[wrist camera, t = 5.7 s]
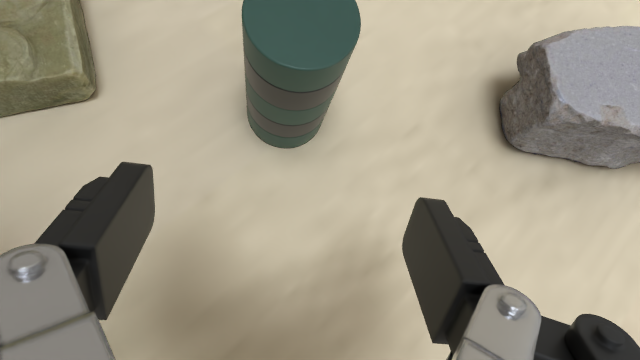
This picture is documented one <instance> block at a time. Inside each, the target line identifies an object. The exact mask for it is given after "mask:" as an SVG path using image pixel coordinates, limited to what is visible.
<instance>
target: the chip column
mask: <svg viewBox="0 0 640 360" xmlns="http://www.w3.org/2000/svg"><path fill="white" fill-rule="evenodd" d="M360 28H361V20H360V13H359V9H358V6H357V3H356V1H355V0H244V1H243V6H242V29H243V46H244V64H245V82H246V100H247V115H248V120H249V123H250V126H251V128H252V129H253V131H254V132H255V134H256V135H257V136H258V137H259V138H260V139H262V140H263V141H264V142H266V143H268V144H270V145H272V146H275V147H280V148H293V147H298V146H300V145H303V144H305V143H307V142H308V141H309V140H311V139H312V138H313V137H314V136H315V134H316V133H317V131H318V130H319V128H320V125H321V123H322V121H323V118H324V116H325V114H326V112H327V109H328V107H329V105H330V102H331V100H332V98H333V96H334V93H335V91H336V89H337V86H338V84H339V82H340V80H341V77H342V75H343V73H344V70H345V68H346V66H347V64H348V61H349V59H350V57H351V54H352V52H353V50H354V48H355V45H356V43H357V40H358V38H359V34H360Z"/></svg>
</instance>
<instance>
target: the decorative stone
mask: <svg viewBox="0 0 640 360" xmlns="http://www.w3.org/2000/svg"><path fill="white" fill-rule="evenodd" d="M517 66H518V71H519V73H520V81H519V82H518V83H517V84H516V85H514V86H513V88H512V89H510V90H508V91H506V92H505V94H504V95H503V97H502V98H501V100H500V114H501V118H502V129H503V132H504V135H505V138H506V139H507V140H508V141H509V143H511V144H512V145H513V146H515V147H516V148H518V149H520V150H522V151H524V152H530V153H534V154H541V155H547V156H550V157H559V158H564V159H569V160H573V161H575V162H580V163H583V164H586V165H593V166H607V167H609V168H613V169H616V168H620V167H624V166H626V165H628V164H632V163H638V162H640V27H634V26H619V27H602V28H599V27H595V28H591V29H580V30H573V31H567V32H563V33H560V34H557V35H555V36H552V37H549V38H547V39H544V40H542V41H539V42H536V43H533V44H532V46H531V47H530V48H529V49H528V51H525V52H522V53H520V54H519V55H518V57H517Z"/></svg>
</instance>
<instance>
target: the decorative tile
mask: <svg viewBox="0 0 640 360" xmlns="http://www.w3.org/2000/svg"><path fill="white" fill-rule="evenodd" d="M95 77H96V74H95V70H94V66H93V60H92V55H91V50H90V44H89V39H88V34H87V32H86V29H85V22H84V16H83V11H82V8H81V6H80V2H79V0H0V117H1V116H7V115H12V114H16V113H20V112H25V111H31V110H38V109H42V108H46V107H51V106H58V105H62V104H66V103H75V102H79V101H83V100H86V99H88V98H89V97H90V96H91V94H92V93H93V92H94V91H95V89H96V86H95Z"/></svg>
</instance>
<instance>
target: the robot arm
mask: <svg viewBox="0 0 640 360" xmlns="http://www.w3.org/2000/svg"><path fill="white" fill-rule="evenodd" d="M154 216H155V202H154V184H153V170H152V167H151V165H146V164H138V163H129V162H122V163H120V164H119V166H118V167H117V168H116V170H115V171H114V172H113V174H112V175H111V176H110V177H109V178H108V177H98V178H97V179H95V180H93V181H91V182H89V183H88V184H86V185H84V186H83V187H82V188H81V189H80V191H79V192H78V193H77V194H76V195H75V196H74V199H73V200H71V201H70V202H69V203H68V205H67V206H66V207H65V210H63V211H62V212H61V213H60V214H59V215H58V216H57V218H56V219H55V220H54V221H53V222H52V223H51V225H50V226H49V227H48V228H47V229H46V231H45V232H44V233H43V234H42V235H41V236H40V238H39V239H38V240H37V241H36V242H35V243H34V244H30V245H25V246H20V247H17V248H14V249H12V250H9V251H7V252H5V253H3V254H2V255H0V360H115V357H114V355H113V353H112V350H111V348H110V346H109V343H108V341H107V339H106V336H105V334H104V332H103V330H102V327H101V325H100V323H99V320H107V318H108V316H109V314H110V312H111V310H112V308H113V306H114V304H115V302H116V300H117V298H118V296H119V294H120V292H121V290H122V287H123V285H124V283H125V281H126V279H127V277H128V275H129V273H130V271H131V269H132V267H133V265H134V263H135V261H136V259H137V257H138V255H139V253H140V251H141V249H142V247H143V245H144V243H145V241H146V239H147V237H148V235H149V233H150V231H151V228H152V225H153V222H154ZM402 250H403V256H404V259H405V262H406V265H407V268H408V271H409V274H410V277H411V280H412V283H413V286H414V289H415V292H416V295H417V298H418V301H419V304H420V307H421V310H422V313H423V316H424V319H425V322H426V325H427V328H428V331H429V334H430V337H431V340H432V343H437V344H449V347H450V350H451V352H450V354H449V355H448V357H447V359H446V360H640V348H639V346H638V345H637V344H636V342H635V341H634V340H633V339H632V338H631V337H630V336H629V335H628V334H627V333H626V332H625V331H624V330H623V329H621V328H620V327H619V326H617V325H616V324H614V323H612V322H611V321H609V320H607V319H605V318H602V317H600V316H597V315H592V314H582V315H579V316H578V317H577V318H576V320H575V321H574V322H573V324H572V325H571V326H570V325H567V324H564V323H561V322H558V321H555V320H552V319H549V318H546V317H543V316H541V314H540V312H539V310H538V308H537V307H536V305H535V304H534V303H533V302H532V301H531V300H530V299H529V298H528V297H527V296H525V295H524V294H523V293H521V292H519V291H518V290H516V289H514V288H511V287H508V286H505V285H504V283H503V282H502V280H501V278H500V277H499V275H498V273H497V272H496V270H495V268H494V267H493V265H492V263H491V262H490V260H489V258H488V257H487V255H486V253H484V250H483V248H482V246H481V245H480V243H478V240H477V238H476V236H475V235H474V233H473V231H472V230H471V228H470V227H469V226H467V225H466V224H465V223H464V222H463V221H462V220H461V219H460V218H458V217H454V216H453V214H452V213H451V211H450V209H449V207H448V205H447V204H446V202H445V201H444V200H438V199H430V198H419V199H418V200H417V201H416V203H415V206H414V209H413V212H412V214H411V217H410V220H409V223H408V225H407V228H406V231H405V234H404V237H403V244H402ZM98 319H99V320H98Z"/></svg>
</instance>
